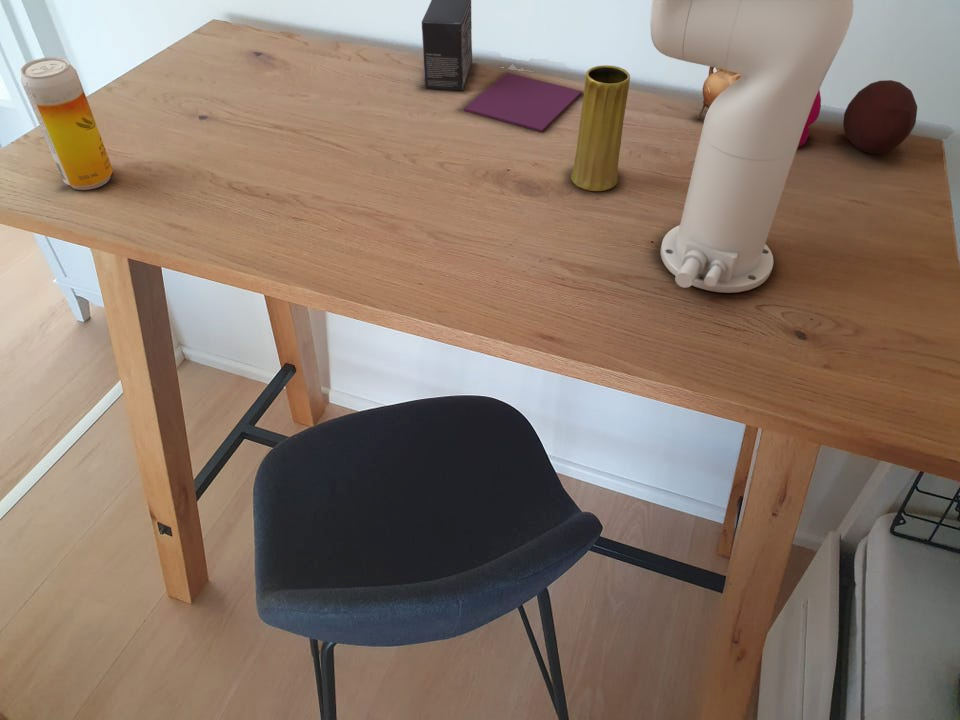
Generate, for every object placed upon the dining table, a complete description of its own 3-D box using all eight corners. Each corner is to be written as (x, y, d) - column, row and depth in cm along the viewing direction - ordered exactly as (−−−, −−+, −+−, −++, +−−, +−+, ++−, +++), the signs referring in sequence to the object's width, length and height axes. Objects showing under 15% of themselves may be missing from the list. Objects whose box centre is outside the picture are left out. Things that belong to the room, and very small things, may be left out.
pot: (695, 109, 116) (696, 125, 111) (707, 55, 111) (709, 69, 106) (735, 113, 115) (738, 129, 110) (748, 59, 110) (752, 73, 105)
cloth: (542, 132, 110) (542, 129, 109) (463, 110, 114) (463, 108, 114) (581, 93, 118) (581, 91, 118) (507, 75, 123) (507, 72, 123)
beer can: (123, 179, 100) (82, 66, 89) (78, 197, 97) (31, 83, 86) (100, 162, 103) (58, 51, 92) (56, 179, 99) (7, 66, 89)
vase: (621, 172, 102) (638, 67, 92) (612, 196, 98) (628, 89, 88) (577, 164, 104) (588, 60, 94) (565, 187, 99) (576, 81, 89)
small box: (434, 60, 127) (431, -7, 119) (473, 62, 126) (473, -4, 119) (422, 88, 119) (419, 19, 112) (464, 91, 119) (463, 22, 111)
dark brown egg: (893, 131, 111) (920, 69, 104) (906, 174, 103) (936, 109, 96) (831, 124, 112) (853, 61, 106) (838, 165, 104) (863, 100, 97)
